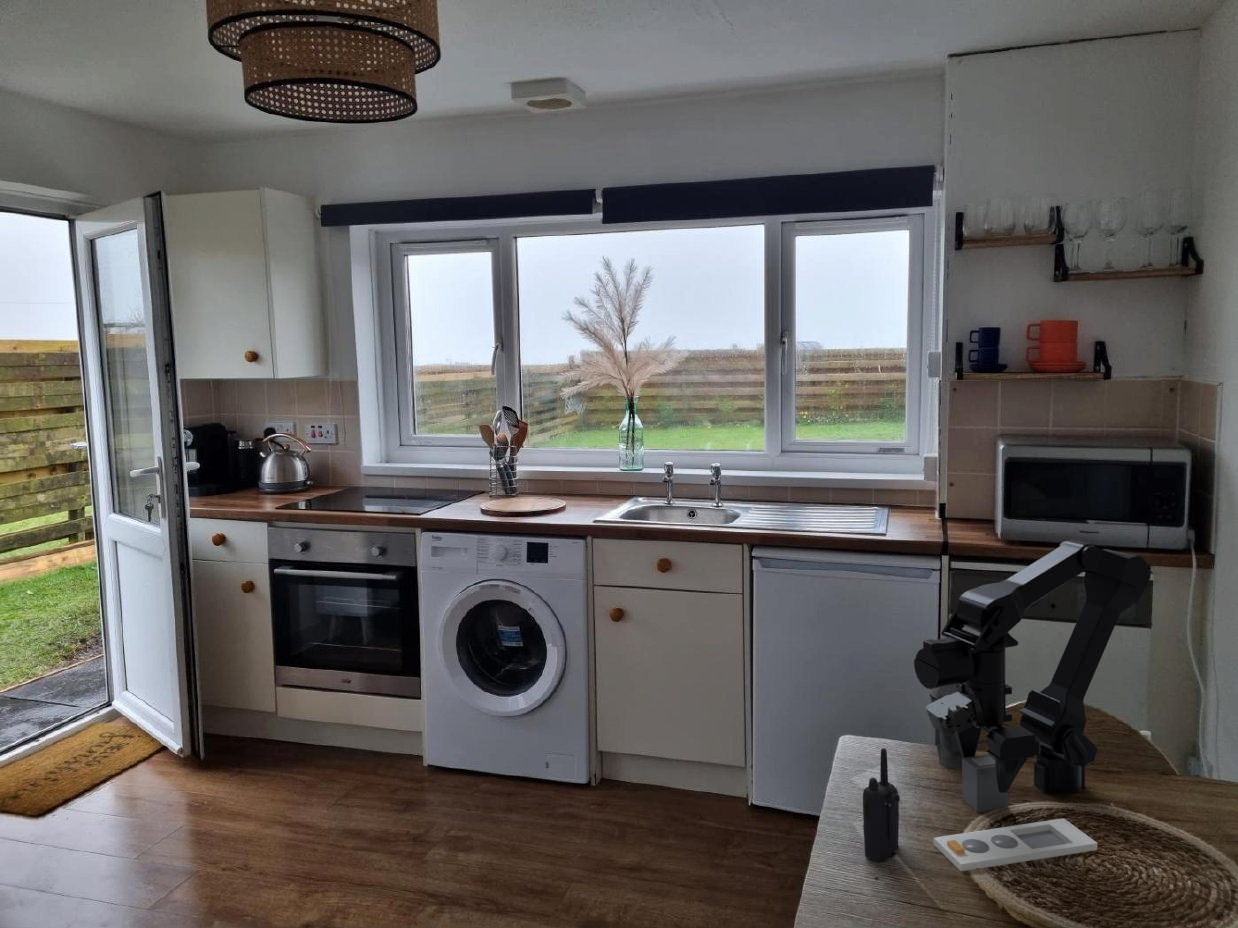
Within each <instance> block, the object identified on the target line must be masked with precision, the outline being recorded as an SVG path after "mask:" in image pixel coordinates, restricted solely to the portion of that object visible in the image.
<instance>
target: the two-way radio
mask: <svg viewBox="0 0 1238 928" xmlns="http://www.w3.org/2000/svg"><path fill="white" fill-rule="evenodd" d="M887 751H888V750H887V749H886V748H884V747H883V748H881V749H880V763H879V765H880V766H879V767H880V773H879V774H880V775H879V776H880V780H879V781H878V779H877V778H875V777H871V778H869V781H868V786H867V787H865V788H864V789H863V792H862V815H863V816H862V817H863V819H862V820H863V828H862V829H863V841H864V856H865V857H866V858H868V859H869V860H871V861H874V862H875V861H876V862H882V861H886V860H889V859H891V858H892V857H894V856H896V855H897V853H896V851H897V850H898V849H899V828H900V827H899V824H900V823H899V822H900V821H899V820H900V819H899V818H900V815H899V814H900V808H899V807H900V806H899V805H900V804H899V803H900V800H901V796H900V795H899V793H898V789H897V787H896V786H895V785H894V784H893V783H890V782H889V773H888V772H889V770H888V769H889V768H888V767H889V766H888V752H887Z"/></svg>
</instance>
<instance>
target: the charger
mask: <svg viewBox="0 0 1238 928" xmlns="http://www.w3.org/2000/svg"><path fill="white" fill-rule="evenodd" d="M961 773H962V774H961V777H962V778H961V781H962V783H961V785H962V786H961V787H962V788H961V790H962V791H961V792H962V793H961V798H962V801H963V802H964V803H966V804H967V805H968V806H969V807H970V808H971V809H973V810H974V812H976V813H981V812H987V811H993V810H994V811H995V810H1001V809H1008V808H1009V790H1008V791H1007V792H1005V793H1000V792H999V789H998V783H997V774H996V765H995V759H994V758H993V757H992V756H991V755H990V754H983V755H982V754H981V755H975V756H974V757H966V758H962V768H961Z"/></svg>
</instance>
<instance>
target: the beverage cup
mask: <svg viewBox="0 0 1238 928" xmlns="http://www.w3.org/2000/svg"><path fill="white" fill-rule="evenodd" d="M956 685H957V684H955V685H949V686H944V687H939V688H933V689H930V692H929V697H930V703H932V702H934V701H935V700H936V699H937V698H938V697H939V696H940V695H941V694H948V693H956ZM934 730H935V739H936V740H935V741H936V753H937V757H938V762H939V764H940V765H942V766H944V767H947V768H951V769H952V768H953V769H962V755H961V752H960V749H959V746H958V743H957V740H956V737H955V734H952V735H949V736H945V735H943V734H942V733H941V732H940V731H939V730H938V729H936V728H934Z"/></svg>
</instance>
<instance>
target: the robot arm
mask: <svg viewBox="0 0 1238 928" xmlns="http://www.w3.org/2000/svg"><path fill="white" fill-rule="evenodd" d="M1082 573H1084V576H1083V580H1082V583H1083V588H1084V594H1085V602H1084V604H1083V607H1082V609H1081V611H1080V614H1079V615H1078V618H1077V621H1076V623H1075V625H1074V627H1073V630H1072V632H1071V635H1070V637H1069V639H1068V641H1067V644H1066V646H1065V648H1064V650H1063V653H1062V655H1061V658H1060V660H1059V662H1058V665H1057V668H1056V669H1055V671H1054V674H1053V676H1052V679H1051V681H1050V682H1049V684H1048V685H1047V686H1046V687H1045V688H1043V689H1042V690H1040V691H1037V690H1035V689H1032V690H1030V691H1029V692H1028V694H1027V698H1026V701H1025V704H1024V706H1023V707H1022V708H1021V710H1019V713H1020V714H1021V717H1020V721H1019V722H1020V723H1019V725H1016V726H1005V725H1004V724H1005V722H1006V723H1007V722H1012V721H1013V714H1012V713H1011V712H1009V711H1008V710H1007V709H1006V707H1007V705H1006V701H1007V700H1006V699H1007V697H1006V696H1007V695H1012V694H1013V687H1012V686H1010V685H1009V684H1007V683H1006V682H1007V680H1006V674H1007V673H1006V671H1007V670H1006V668H1007V667H1006V661H1007V660H1006V657H1007V656H1006V655H1007V654H1006V648H1007V649H1008V648H1012V647H1017V646H1019V641H1018V640H1017V639H1015V638H1014V637H1013V636H1012V635H1011V634H1010V633H1009V632H1010V631H1011V630H1012V629H1014V628H1015V627H1016V626H1017V625H1018V624H1019V623H1020V622H1021V620H1022V619H1023V617H1024V614H1025V611H1026V610H1027V609H1028V608H1029V607H1030V606H1031V605H1033V604H1035V603H1037V602H1038V601H1040V600H1041V599H1043V598H1044V597H1046V596H1047V595H1050V593H1053V592H1054V591H1055V590H1057V589H1059V588H1060V587H1061V586H1064V585H1065V584H1067V583H1068V582H1070V581H1072V580H1074V578H1076V577H1078V576H1080V574H1082ZM1151 575H1152V572H1151V570H1150V569H1149V564H1148V562H1147V561H1146V559H1145V558H1143V557H1141V556H1138V555H1134V554H1130V553H1125V552H1122V551H1121V552H1120V551H1115V550H1111V549H1106V548H1105V549H1104V548H1103V549H1102V548H1099V547H1096V546H1095V545H1094V544H1092V543H1088V542H1083V541H1079V540H1076V539H1075V540H1074V539H1068V540H1065V541H1062V542H1061V543H1060V544H1059V546H1058V547H1057V548H1056V549H1054V550H1053V551H1050V552H1049V553H1047V554H1046V555H1044V556H1042V557H1041V558H1040V559H1038V560H1036V561H1034V562H1033V563H1031V564H1029V565H1028V566H1026V567H1025V568H1023V569H1022V570H1020V571H1018V572H1016V573H1014V574H1013V575H1012V576H1010V577H1008V578H1006V579H1005V580H1002V581H999V582H993V583H992V582H991V583H987V584H982V585H979V586H977V587H974V588H972V589H969V590H967V591H965V592H964V593H962V594H961V595H960V597H959V598H958V599H957V600H958V603H957V605H956V606H955V608H954V610H953V612H952V614H951V615H950V617H949V619H948V621H947V622H946V624H945V625H944V628H942V631H941V636H943V637H944V638H940V639H939V638H938V639H925V640H924V641H922V642H923V643H922V645H923V646H922V648H920V649H919V650H918V651H917V653H916V655H915V658H914V660H913V667H914V668H913V669H914V671H915V672H914V673H915V675H916V678H917V679H918V681H919V683H920V684H921V685H922V687H924V688H926V689H927V690H928V689H929V690H931V689H933V688H939V687H944V686H949V685H955V684H957V685H956V693H948V694H941V695H940V696H939V697H938V698H937V699H936V700H935V701H934V702H932V703H931V702H930V703H929V704H927V705H926V707H925V711H926V713H927V715H928V717H929V720H930V723H931V725H932V727H933V729H935V728H936V729H938V730H939V731H940V732H941V733H942V734H943V735H945V736H949V735H952V734H955V737H956V740H957V743H958V746H959V749H960V752H961V755H962V758H966V757H974V756H976V753H977V749H978V744H979V740H980V737H981V732H982V730H983V731H985V732H987V735H986V745H987V747H988V749H986V752H987V755H989V754H990V755H991V756H992V757H993V758H994V759H995V765H996V774H997V783H998V789H999V792H1000V793H1005V792H1007V791H1008V792H1009V790H1010V788H1011V786H1012V785H1013V783H1014V781H1015V779H1016V777H1017V776H1018V774H1019V772H1020V771H1021V769H1022V767H1023V766H1024V765H1025V764H1026V762H1027V761H1028V759H1030V758H1033V757H1035V756H1036V761H1035V762H1034V764H1033V786H1034V787H1036V788H1037V789H1038V790H1040V791H1041V792H1043V793H1046V794H1047V793H1048V794H1053V793H1054V794H1060V795H1075V794H1078V793H1080V792H1081V790H1082V789H1085V788H1086V767H1087V766H1088V764H1089V763H1094V761H1095V760H1096V756H1097V753H1098V747H1097V746H1096V745H1095V744H1094V743H1093V742H1092V741H1091V740H1090V739H1089V738H1088V737H1087V736H1086V735H1085V734H1084V731H1085V729H1086V724H1087V716H1086V715H1087V714H1086V711H1085V710H1086V709H1085V702H1084V701H1085V700H1084V699H1085V696H1086V694H1087V691H1089V690H1088V689H1089V687H1090V685H1091V683H1092V680H1093V679H1094V678H1093V677H1094V676H1095V673H1096V671H1097V669H1098V666H1099V664H1100V662H1101V660H1102V658H1103V657H1102V656H1103V654H1104V652H1105V649H1106V648H1107V645H1108V643H1109V640H1110V638H1111V636H1112V633H1113V631H1114V629H1115V627H1116V624H1117V623H1118V619H1119V617H1120V616H1121V614H1122V613H1123V612H1125V611H1126V610H1127V609H1129V608H1130V607H1132V606H1133V605H1134V604H1136V603H1137V602H1139V600H1140V598H1141V596H1142V595H1143V593H1144V591H1145V590H1146V588H1147V586H1148V585H1149V582H1150V580H1151ZM964 627H965V628H967V629H970V630H972V631H975V632H978V633H979V635H977V634H975V633H973V632H970V631H968V630H965V629H964Z"/></svg>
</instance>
